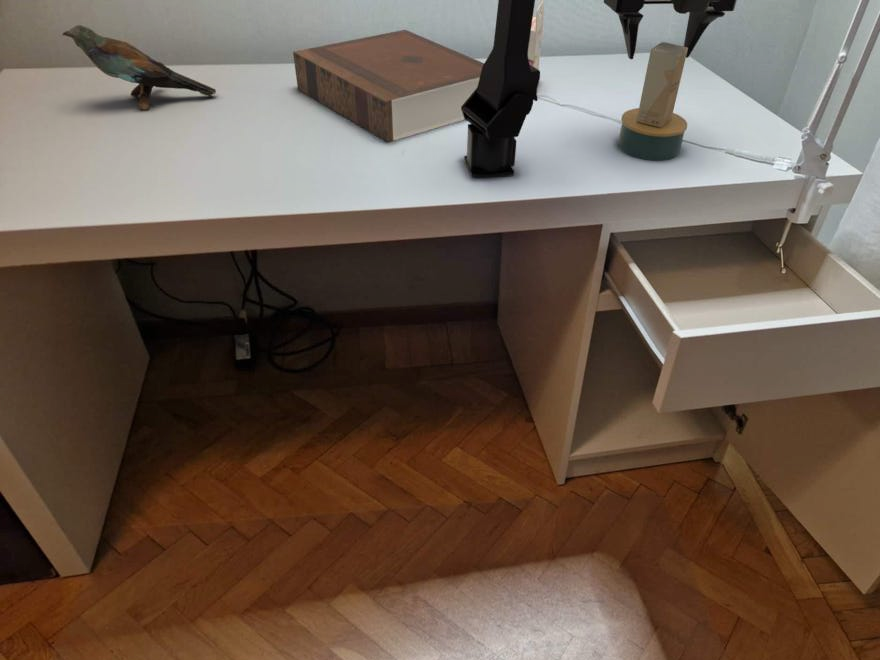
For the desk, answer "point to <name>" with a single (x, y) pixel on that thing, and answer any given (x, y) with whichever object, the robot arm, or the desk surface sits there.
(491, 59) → the robot arm
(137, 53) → the bird figurine
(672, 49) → the box
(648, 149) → the tin
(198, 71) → the desk surface
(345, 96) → the book
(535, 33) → the ink cartridge box
